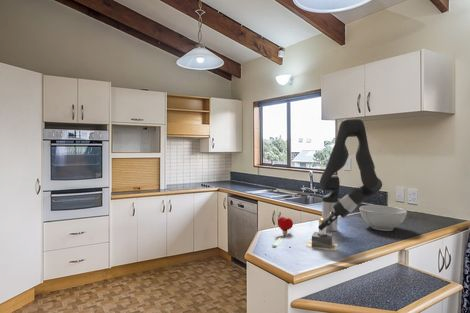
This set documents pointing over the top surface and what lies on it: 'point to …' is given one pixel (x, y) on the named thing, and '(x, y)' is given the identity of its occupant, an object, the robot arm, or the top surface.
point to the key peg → (323, 232)
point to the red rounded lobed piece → (285, 224)
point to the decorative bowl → (383, 216)
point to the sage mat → (277, 242)
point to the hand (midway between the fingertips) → (320, 226)
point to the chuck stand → (322, 242)
